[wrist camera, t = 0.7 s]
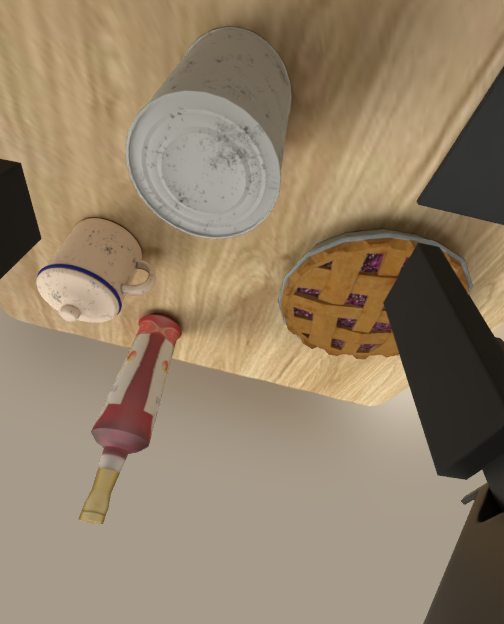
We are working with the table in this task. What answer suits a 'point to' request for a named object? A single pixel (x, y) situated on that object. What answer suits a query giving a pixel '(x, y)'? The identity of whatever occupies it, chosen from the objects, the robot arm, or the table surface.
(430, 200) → the back mat
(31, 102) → the table surface
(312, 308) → the pie
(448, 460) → the robot arm
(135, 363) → the liquor
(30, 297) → the table surface
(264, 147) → the tin can
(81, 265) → the teacup with lid
